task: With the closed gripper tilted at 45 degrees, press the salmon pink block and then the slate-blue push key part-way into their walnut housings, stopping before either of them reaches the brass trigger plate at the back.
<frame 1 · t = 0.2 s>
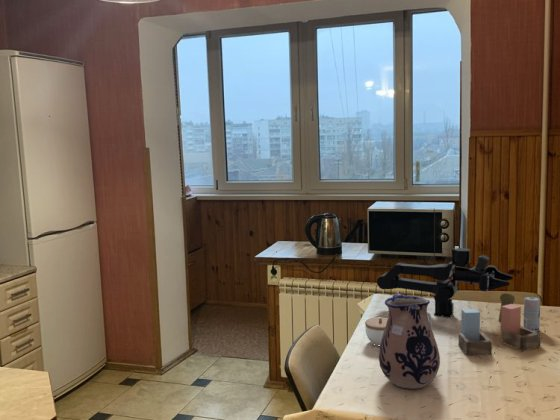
hand: (511, 280, 209), 17 cm above the table, tool horizontal, fingers open, 9 cm apart
salmon pink block: (510, 322, 193), point 6 cm above the table, slide at 0.0 cm
red key housing: (510, 340, 194), on the table
beer glass: (420, 358, 181), on the table
slate-blue key: (470, 327, 190), point 6 cm above the table, slide at 0.0 cm
ceramic pitcher: (406, 380, 165), on the table
olive green cylinder: (506, 322, 213), on the table
energy drink: (531, 330, 203), on the table
lidded jar: (380, 343, 195), on the table
blue key housing: (470, 345, 191), on the table
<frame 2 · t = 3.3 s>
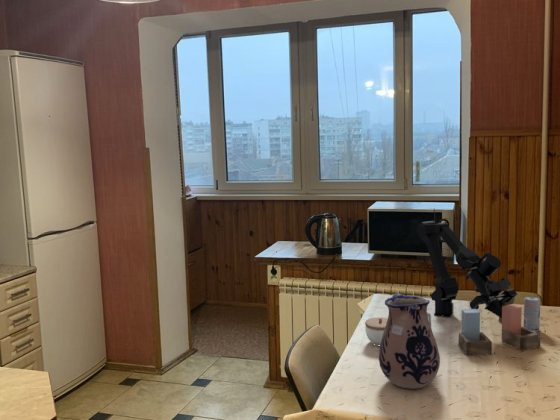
hand: (506, 319, 195), 7 cm above the table, tool tilted 45°, fingers closed, pressing on salmon pink block
salmon pink block: (511, 323, 193), point 6 cm above the table, slide at 0.4 cm, touching gripper
everything else where it was.
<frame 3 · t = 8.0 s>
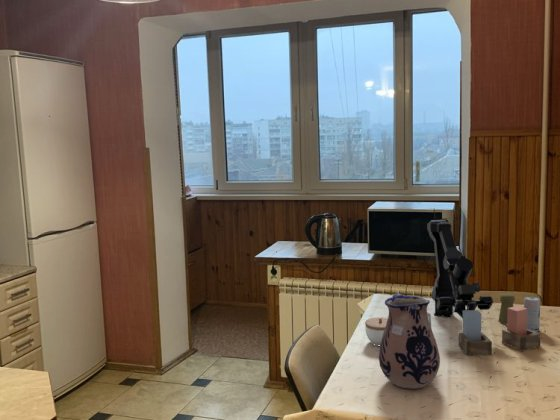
hand: (469, 325, 191), 7 cm above the table, tool tilted 45°, fingers closed, pressing on slate-blue key
salmon pink block: (516, 325, 191), point 6 cm above the table, slide at 2.7 cm
slate-blue key: (471, 328, 188), point 6 cm above the table, slide at 1.4 cm, touching gripper
everything else where it was.
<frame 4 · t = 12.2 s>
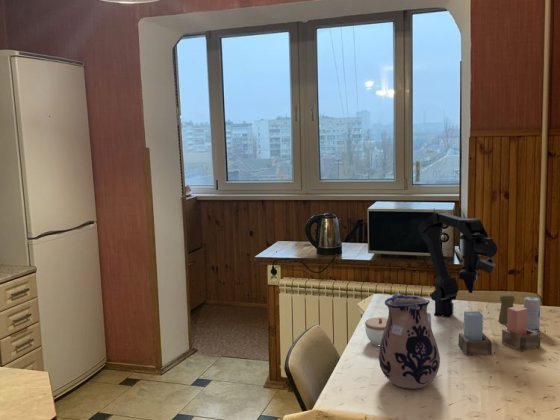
hand: (470, 292, 208), 13 cm above the table, tool pointing down, fingers closed
slate-blue key: (473, 330, 187), point 6 cm above the table, slide at 2.7 cm
everything else where it was.
at the end: salmon pink block slide at 2.7 cm; slate-blue key slide at 2.7 cm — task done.
